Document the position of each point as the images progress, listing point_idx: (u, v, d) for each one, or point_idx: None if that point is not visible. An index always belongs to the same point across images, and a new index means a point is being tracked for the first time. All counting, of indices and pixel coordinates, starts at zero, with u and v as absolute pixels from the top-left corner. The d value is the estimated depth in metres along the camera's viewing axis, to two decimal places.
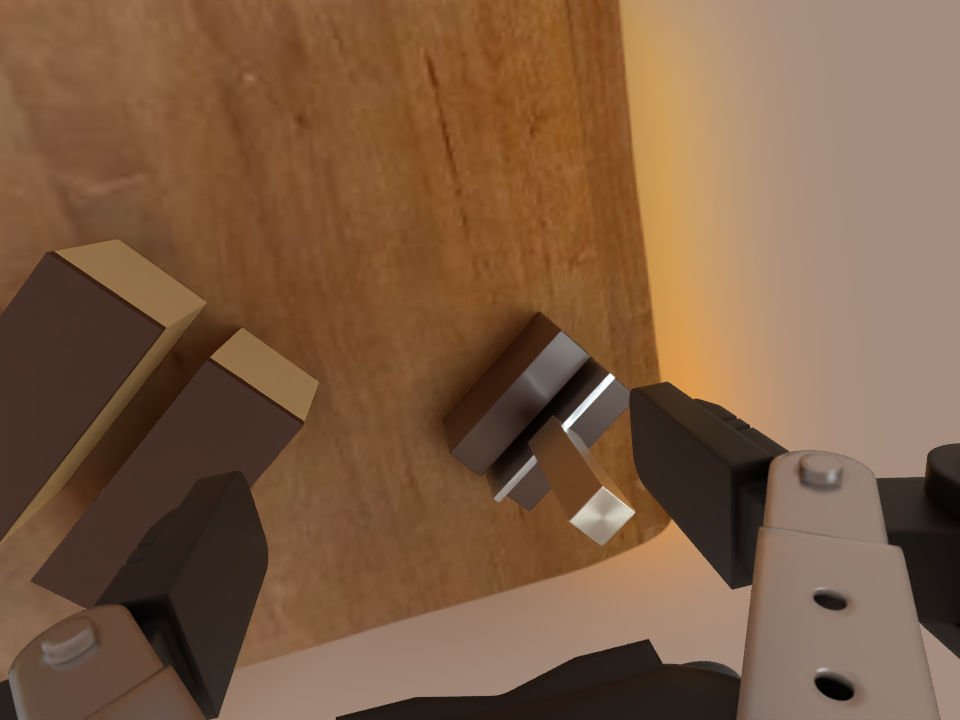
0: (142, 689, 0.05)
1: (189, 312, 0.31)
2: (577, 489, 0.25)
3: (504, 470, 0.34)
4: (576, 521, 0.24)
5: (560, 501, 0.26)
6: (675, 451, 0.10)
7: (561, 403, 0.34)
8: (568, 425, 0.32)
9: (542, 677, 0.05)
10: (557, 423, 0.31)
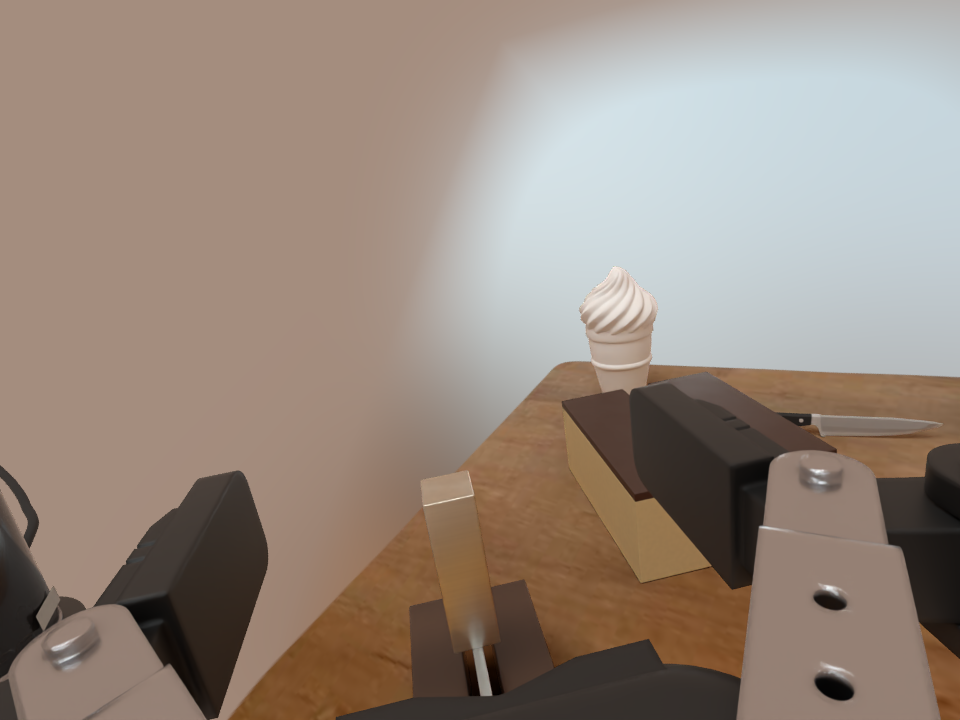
0: (142, 689, 0.05)
1: None
2: None
3: None
4: (462, 473, 0.25)
5: None
6: (675, 451, 0.10)
7: None
8: (475, 650, 0.26)
9: (542, 676, 0.05)
10: None
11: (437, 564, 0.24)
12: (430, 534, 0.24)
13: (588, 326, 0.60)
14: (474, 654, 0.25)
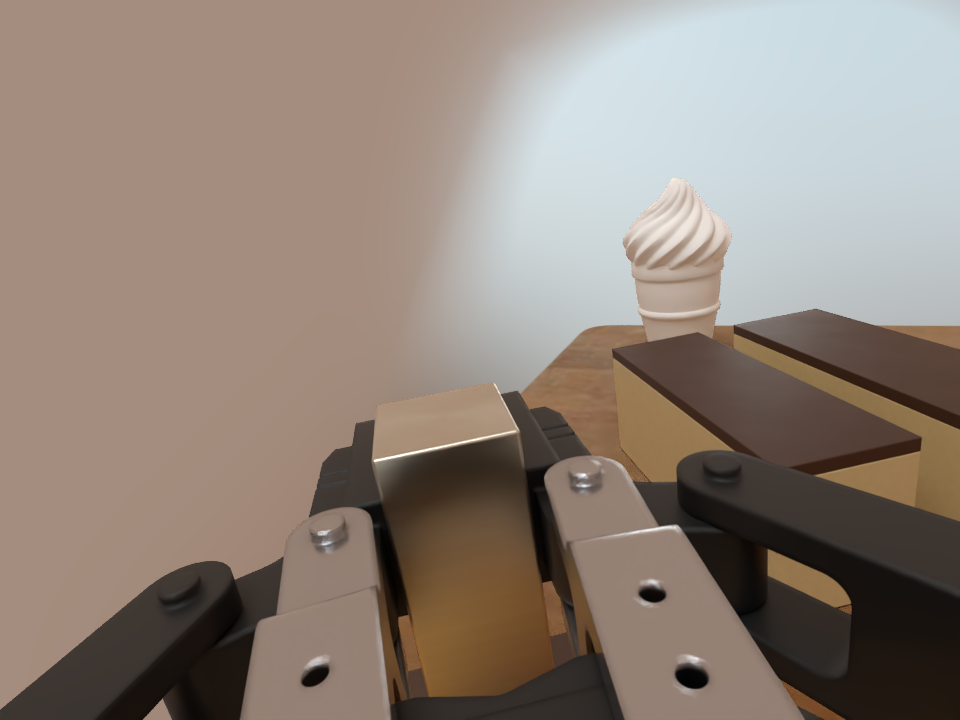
0: (349, 602, 0.06)
1: None
2: None
3: None
4: (482, 387, 0.10)
5: None
6: None
7: None
8: None
9: (542, 675, 0.05)
10: None
11: (416, 625, 0.09)
12: (395, 543, 0.08)
13: (637, 260, 0.45)
14: None
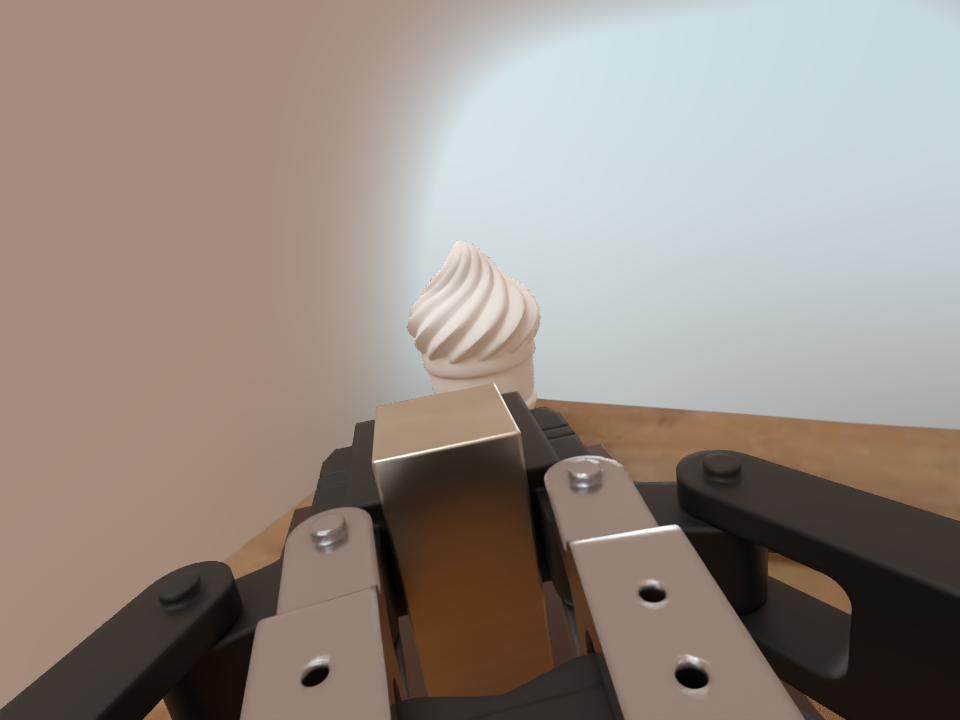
0: (350, 602, 0.06)
1: None
2: None
3: None
4: (482, 388, 0.10)
5: None
6: None
7: None
8: None
9: (543, 675, 0.05)
10: None
11: (416, 626, 0.09)
12: (395, 544, 0.08)
13: (417, 347, 0.34)
14: None
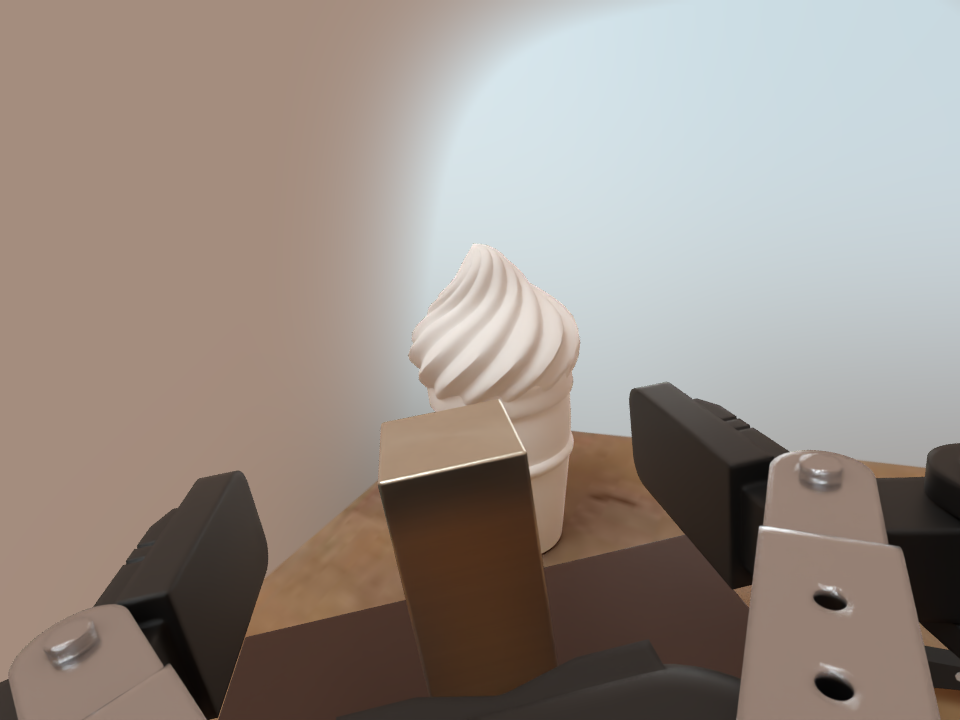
0: (142, 689, 0.05)
1: None
2: None
3: None
4: (487, 404, 0.10)
5: None
6: (675, 451, 0.10)
7: None
8: None
9: (542, 675, 0.05)
10: None
11: (422, 645, 0.09)
12: (401, 564, 0.08)
13: (421, 382, 0.26)
14: None
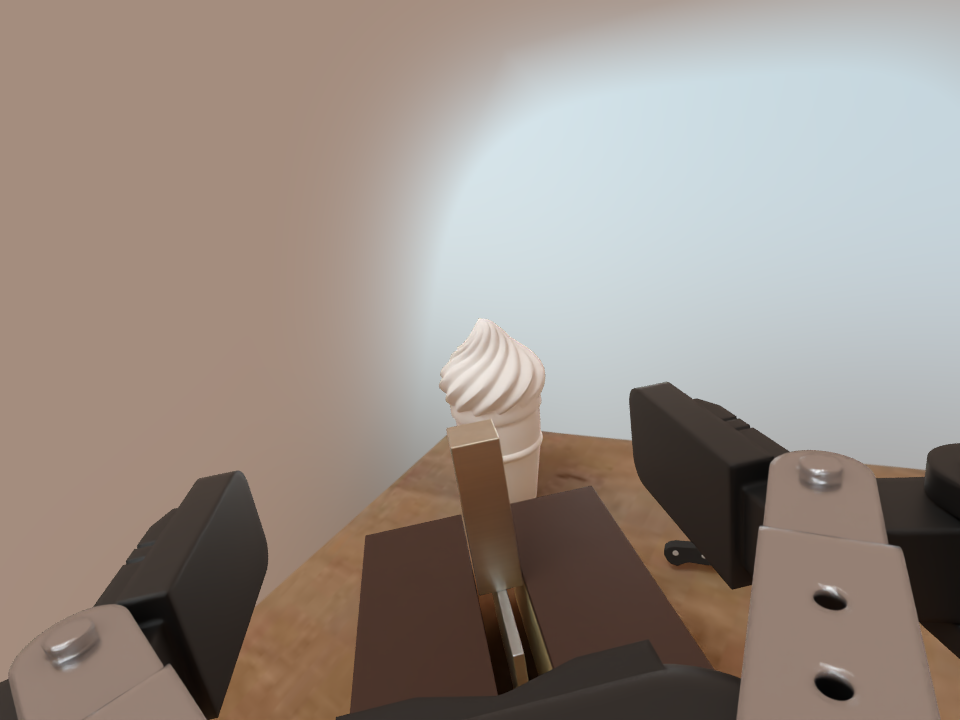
0: (143, 691, 0.05)
1: None
2: None
3: None
4: (486, 421, 0.26)
5: None
6: (675, 451, 0.10)
7: None
8: (499, 592, 0.27)
9: (542, 676, 0.05)
10: None
11: (463, 506, 0.25)
12: (457, 476, 0.25)
13: (447, 401, 0.43)
14: (498, 596, 0.27)
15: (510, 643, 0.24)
